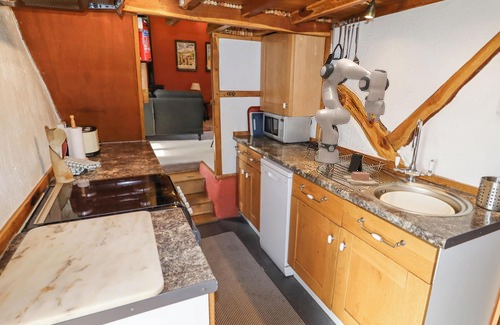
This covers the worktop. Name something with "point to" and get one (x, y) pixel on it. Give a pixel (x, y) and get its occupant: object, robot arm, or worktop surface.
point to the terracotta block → (360, 176)
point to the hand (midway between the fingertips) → (372, 121)
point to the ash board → (360, 181)
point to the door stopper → (355, 163)
